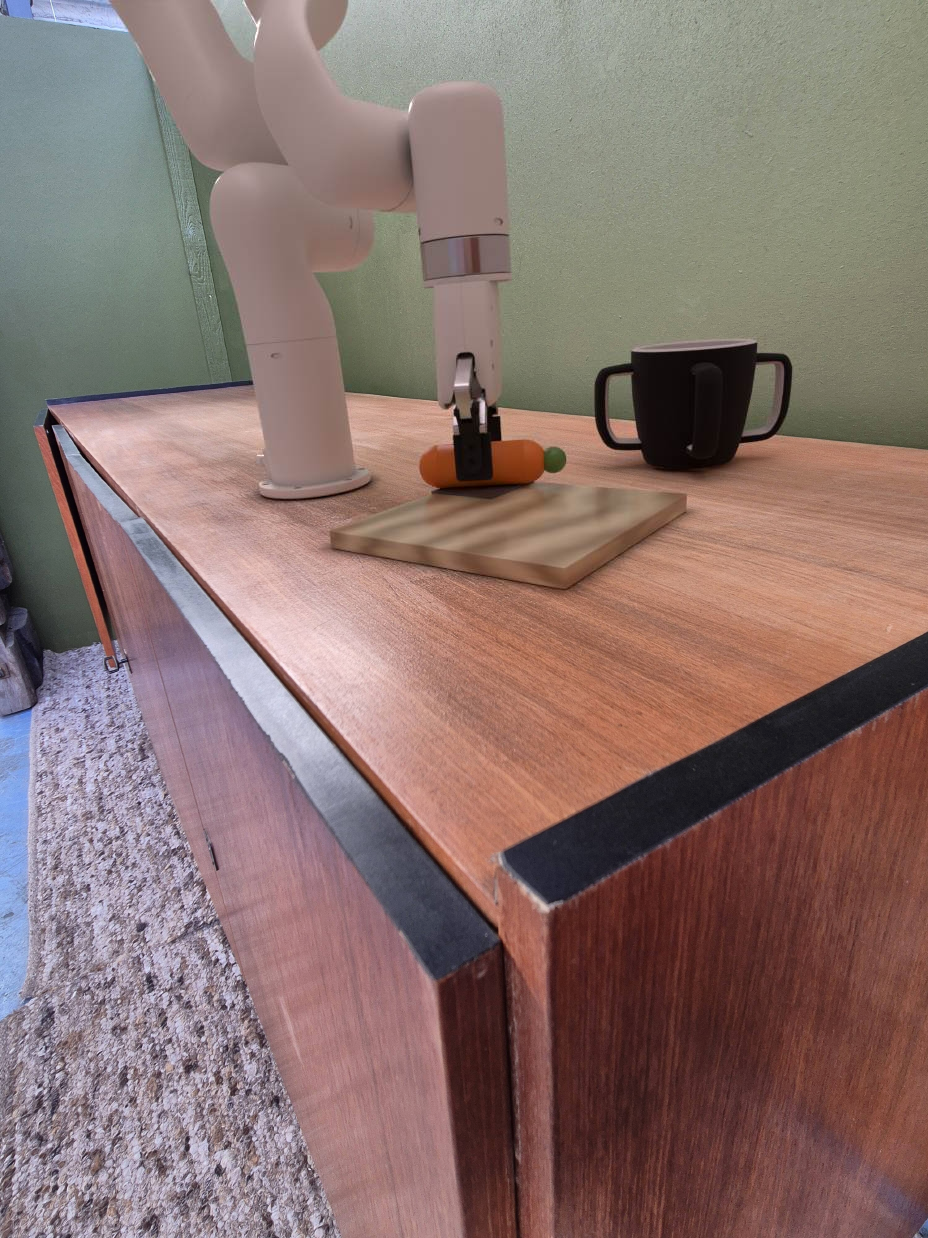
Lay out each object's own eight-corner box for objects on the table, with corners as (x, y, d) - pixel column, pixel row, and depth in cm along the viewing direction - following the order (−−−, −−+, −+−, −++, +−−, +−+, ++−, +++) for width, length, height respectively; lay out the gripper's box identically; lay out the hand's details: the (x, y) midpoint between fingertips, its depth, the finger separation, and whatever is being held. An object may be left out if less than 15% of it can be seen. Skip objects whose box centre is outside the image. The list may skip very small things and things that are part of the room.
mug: (682, 443, 87) (686, 338, 82) (803, 458, 74) (815, 334, 69) (580, 467, 79) (578, 352, 74) (694, 488, 66) (700, 351, 62)
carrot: (419, 496, 67) (412, 457, 65) (425, 476, 70) (419, 438, 68) (567, 489, 65) (566, 448, 63) (566, 468, 68) (565, 429, 66)
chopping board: (331, 548, 58) (328, 528, 58) (476, 491, 73) (475, 475, 72) (565, 590, 45) (564, 564, 45) (686, 511, 60) (687, 491, 59)
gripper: (439, 273, 68) (455, 453, 75) (401, 265, 53) (425, 492, 60) (517, 266, 67) (526, 449, 74) (502, 254, 52) (514, 488, 58)
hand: (481, 468), depth 67 cm, fingers open, 9 cm apart
